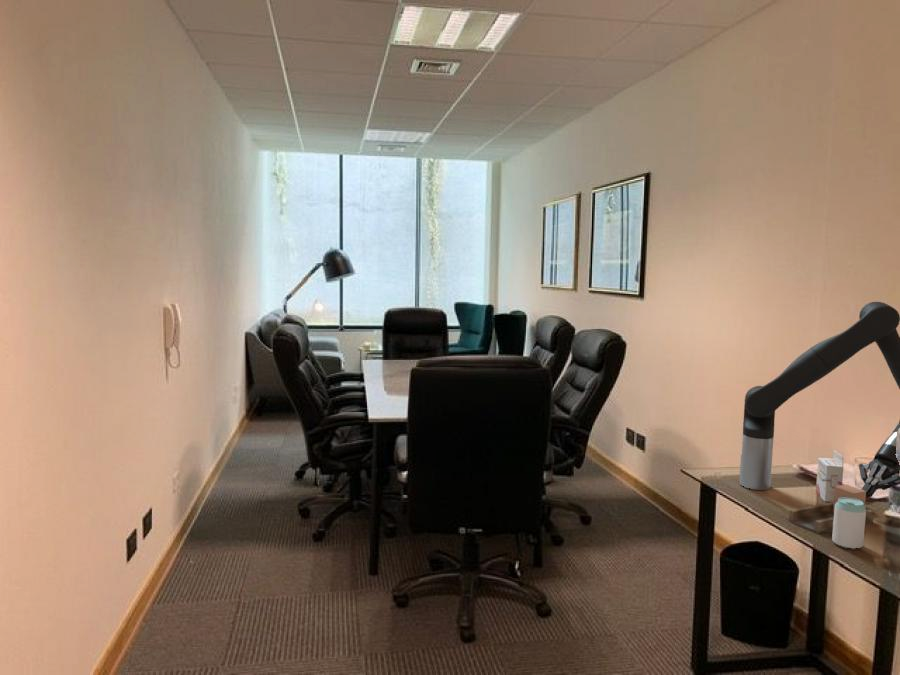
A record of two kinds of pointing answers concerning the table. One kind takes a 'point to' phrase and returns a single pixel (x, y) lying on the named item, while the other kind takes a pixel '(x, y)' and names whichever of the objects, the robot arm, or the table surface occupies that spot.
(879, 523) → the table surface
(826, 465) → the ink cartridge box
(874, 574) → the table surface
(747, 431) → the robot arm
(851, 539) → the can
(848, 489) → the block
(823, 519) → the chute
